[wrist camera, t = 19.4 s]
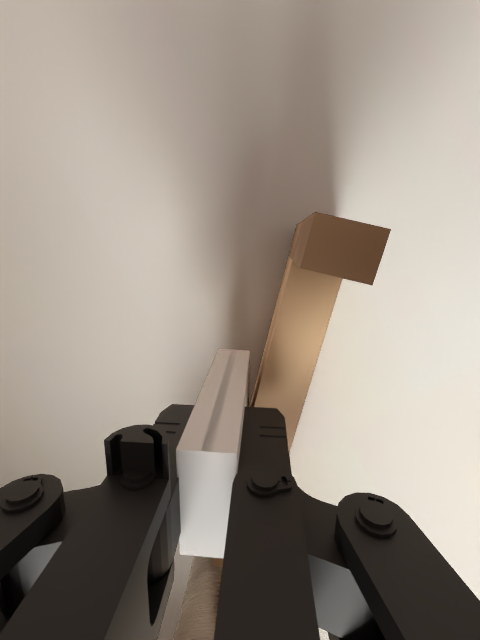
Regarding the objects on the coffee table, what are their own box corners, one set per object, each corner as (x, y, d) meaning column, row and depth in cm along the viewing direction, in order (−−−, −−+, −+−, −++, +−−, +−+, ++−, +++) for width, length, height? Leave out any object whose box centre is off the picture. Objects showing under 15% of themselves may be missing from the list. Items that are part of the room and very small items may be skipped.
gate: (255, 515, 16) (244, 671, 10) (223, 506, 16) (194, 656, 10) (337, 234, 13) (391, 229, 7) (296, 225, 13) (315, 212, 7)
